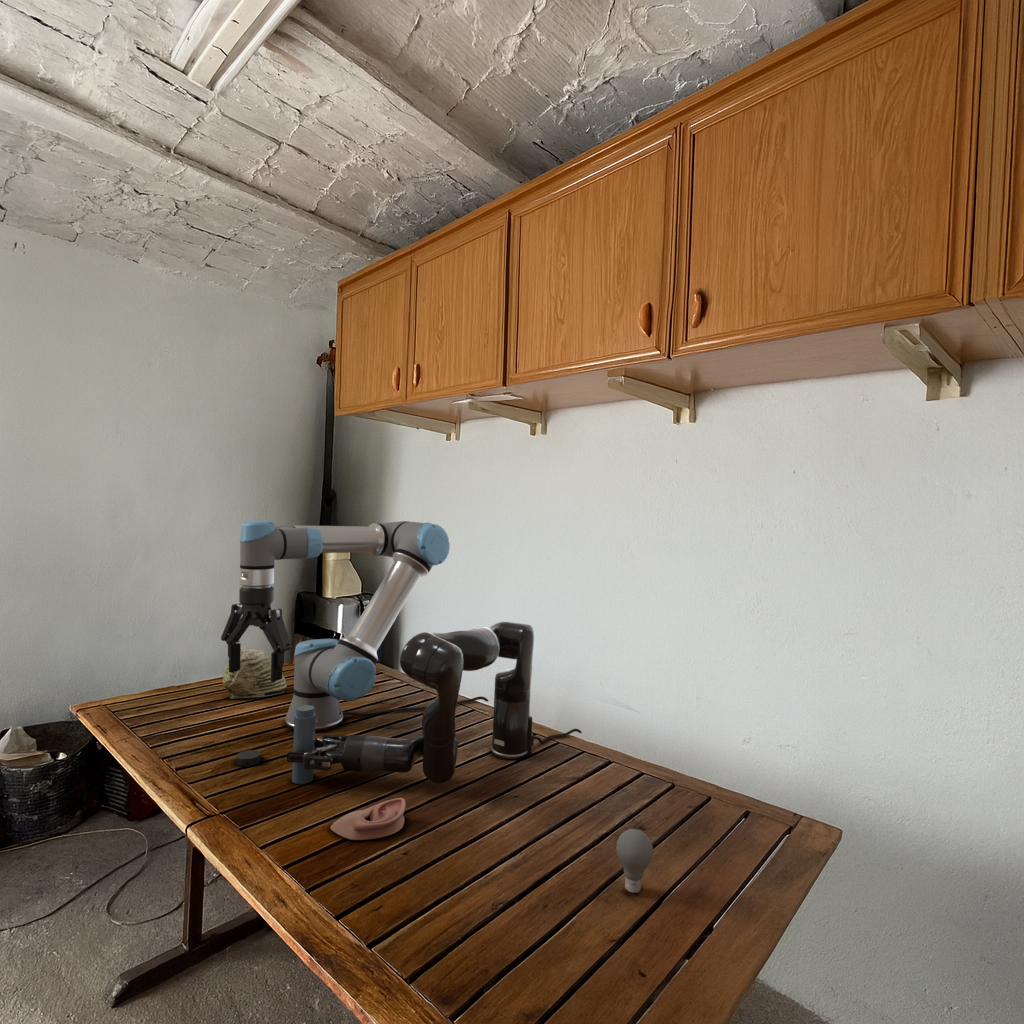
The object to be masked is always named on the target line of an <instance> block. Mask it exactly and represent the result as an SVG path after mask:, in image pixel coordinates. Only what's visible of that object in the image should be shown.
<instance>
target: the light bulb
mask: <svg viewBox="0 0 1024 1024" xmlns="http://www.w3.org/2000/svg"><path fill="white" fill-rule="evenodd" d="M615 849H616V854H617V857H618V859H619V861H620V863H621V865H622V867H623V873H624V874H623V875H624V876H625V878H624V888H625V890H627V891H628V892H630V893H634V894H635V893H639V892H640V891H641V889H642V887H641V886H642V879H643V877H644V875H645V871H646V868H647V867H648V866H649V864H650V863H651V861H652V859H653V855H654V847H653V843H652V841H651V838H649V836H648V835H647V834H646V833H645V832H643V831H642V830H641V829H636V828H629V829H627V830H625V831H623V832H622V833H621V834H620V835H619V837H618V839H617V841H616V847H615Z"/></svg>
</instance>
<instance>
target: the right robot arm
mask: <svg viewBox="0 0 1024 1024" xmlns="http://www.w3.org/2000/svg"><path fill="white" fill-rule="evenodd" d="M405 643H406V644H404V646H403V648H402V649H401V652H400V656H399V665H400V668H401V670H402V672H403V673H404V674H405V675H406V676H408V677H409V678H410V679H412V680H414V681H416V682H417V683H419V684H421V685H423V686H426V687H428V688H430V689H433V690H435V691H436V693H437V696H436V697H435V698H434V699H433V700H431V701H430V702H429V703H428V704H427V705H426V706H427V707H426V708H425V710H423V713H422V717H421V731H422V735H419V736H415V737H410V738H395V737H392V738H391V737H385V736H378V735H363V734H361V735H360V734H349V735H345V734H322V736H321V737H317V738H315V748H314V751H309V752H302V751H293V750H289V751H287V753H286V762H287V763H292V762H295V763H304V767H303V768H304V769H314V770H316V771H317V770H318V771H331V770H332V765H337V764H341V765H342V769H343V771H346V772H361V773H402V774H404V773H409V772H411V771H412V769H413V768H414V765H415V763H416V762H417V760H418V759H419V758H422V772H423V775H424V777H425V778H426V779H427V780H428V781H429V782H431V783H432V784H436V785H443V784H446V783H448V782H449V781H450V780H451V779H452V778H453V776H454V775H455V772H456V768H457V767H456V766H457V758H458V751H459V743H458V740H457V738H456V737H457V736H456V734H457V733H456V730H457V729H456V728H457V727H456V711H457V705H458V704H457V701H459V695H460V690H461V685H462V678H463V672H475V671H479V670H482V669H485V668H487V667H490V666H491V665H493V664H494V663H495V662H496V660H497V659H498V658H502V659H503V658H504V659H508V660H509V659H510V660H515V661H516V662H515V666H514V667H511V668H508V669H503V670H499V671H498V672H496V674H495V676H494V691H493V692H494V694H493V713H492V714H493V715H492V739H491V753H492V755H493V756H495V757H497V758H499V759H506V760H518V759H522V758H525V757H527V756H528V755H531V754H532V747H534V744H535V743H534V741H535V740H536V741H538V742H539V743H540V744H543V743H546V742H547V741H549V740H550V739H554V738H555V739H557V738H563V737H566V736H569V735H570V734H573V733H575V732H577V733H579V734H582V733H583V732H582V730H581V729H579V728H573V729H570V730H569V731H566V732H565V733H559V734H551V735H548V736H545V738H543V739H542V738H541V737H540V736H536V735H534V734H533V716H531V714H530V710H531V688H532V678H533V677H532V676H533V670H534V669H533V668H534V656H535V647H536V633H535V629H534V627H533V625H532V624H530V623H529V624H528V623H525V622H515V621H506V620H505V621H503V620H501V621H498V622H496V623H493V624H491V625H489V626H487V627H486V626H476V627H469V628H466V629H462V630H453V631H449V632H431V631H424V632H420V633H417V634H415V635H414V636H412V637H411V638H410V639H409V640H408V641H407V642H405ZM311 755H314V756H311ZM310 764H314V765H310Z"/></svg>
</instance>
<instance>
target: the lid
mask: <svg viewBox="0 0 1024 1024" xmlns="http://www.w3.org/2000/svg"><path fill="white" fill-rule="evenodd" d="M261 761H262V752H261V751H260V750H257V749H247V750H243V751H240V752H239V753H237V754H236V760H235V762H236V763H235V764H236V765H237V766H240V767H251V766H256V765H258V764H259V763H261Z"/></svg>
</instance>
